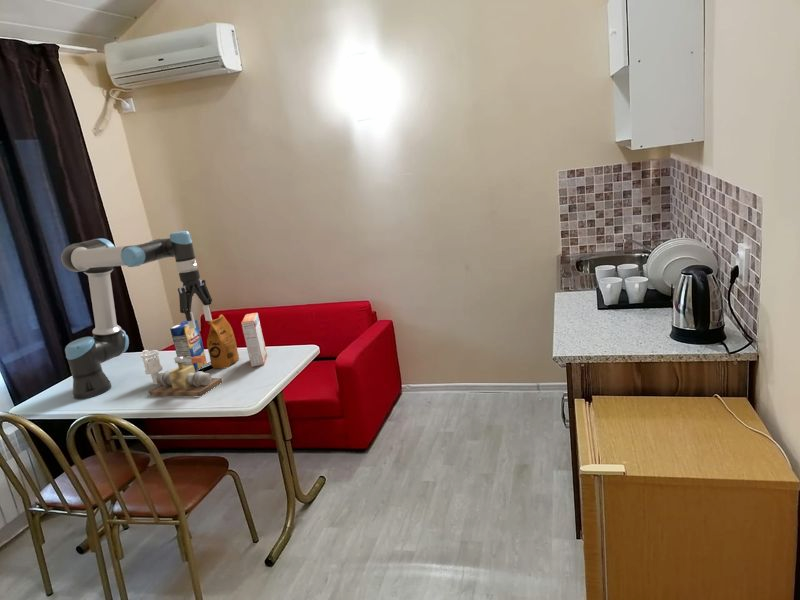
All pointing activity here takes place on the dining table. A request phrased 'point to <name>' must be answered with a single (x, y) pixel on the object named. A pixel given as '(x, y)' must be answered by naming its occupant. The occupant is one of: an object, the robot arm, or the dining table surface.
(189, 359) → the valve lever
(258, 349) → the cracker box
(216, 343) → the coffee package
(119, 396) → the dining table surface
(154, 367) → the white upright piece
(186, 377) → the valve stand
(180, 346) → the beverage box
